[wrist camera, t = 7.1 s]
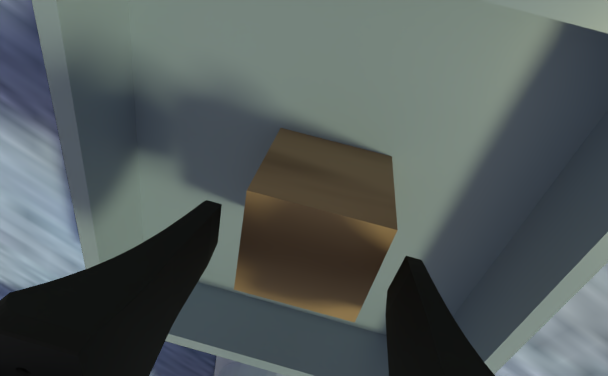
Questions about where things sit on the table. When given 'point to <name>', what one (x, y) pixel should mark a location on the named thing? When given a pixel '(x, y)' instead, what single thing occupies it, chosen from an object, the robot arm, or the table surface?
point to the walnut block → (316, 224)
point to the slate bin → (351, 131)
